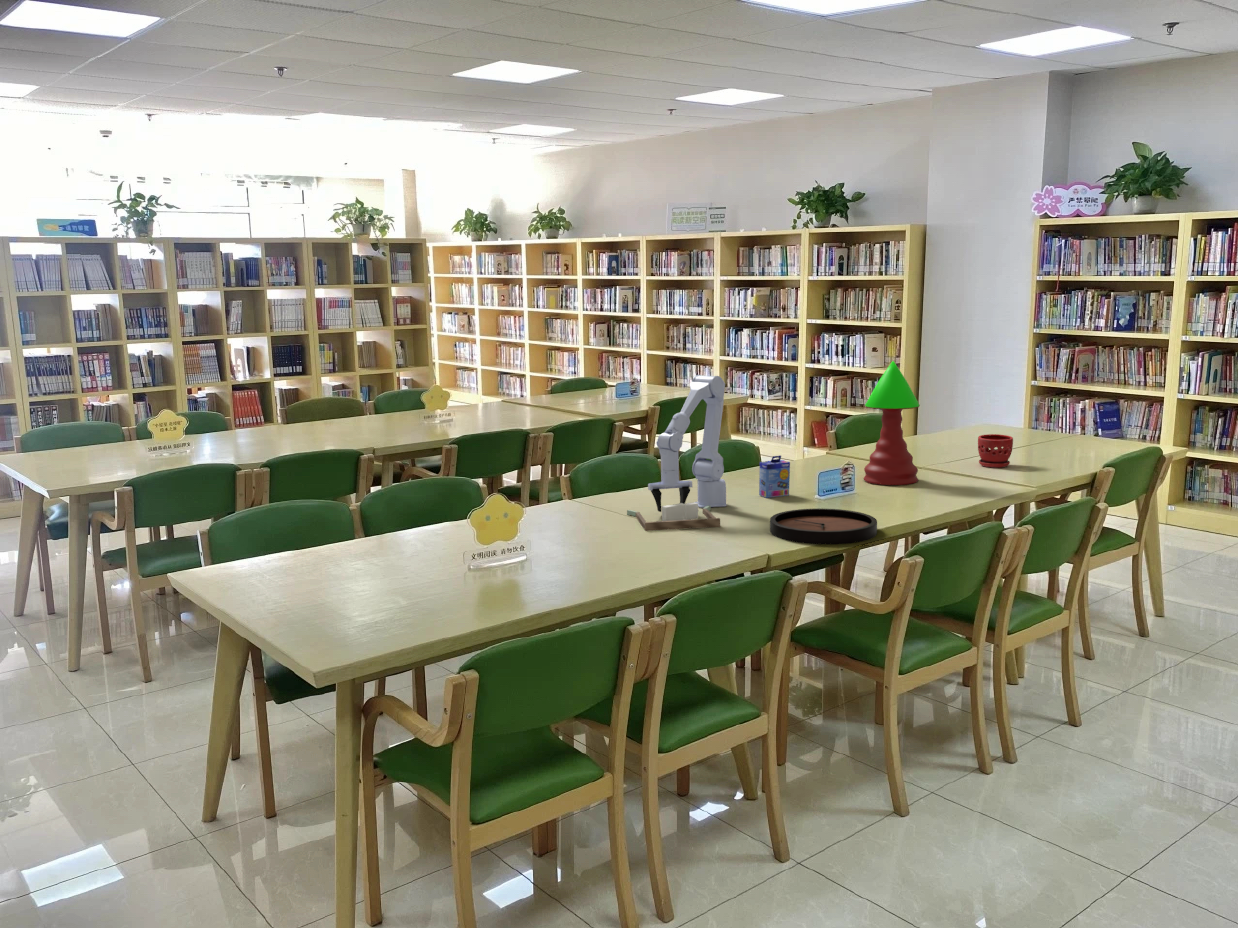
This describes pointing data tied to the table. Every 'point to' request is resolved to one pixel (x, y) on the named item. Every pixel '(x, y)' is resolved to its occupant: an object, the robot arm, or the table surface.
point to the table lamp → (891, 431)
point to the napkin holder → (680, 512)
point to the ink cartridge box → (774, 478)
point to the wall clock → (823, 526)
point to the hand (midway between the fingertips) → (670, 510)
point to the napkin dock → (678, 522)
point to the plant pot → (995, 450)
